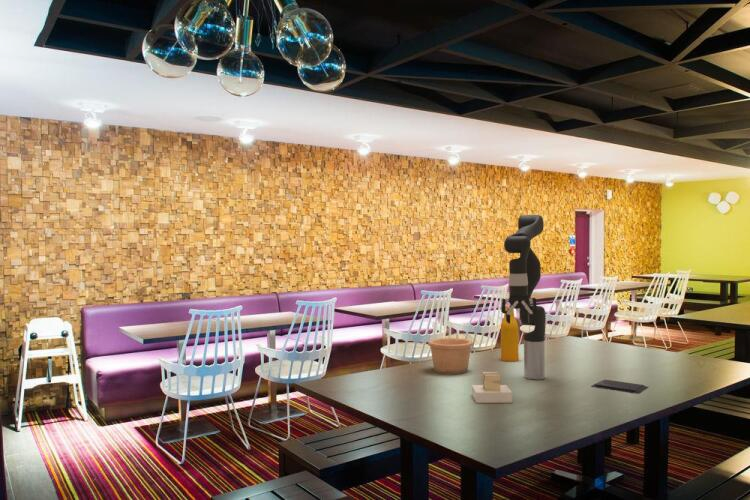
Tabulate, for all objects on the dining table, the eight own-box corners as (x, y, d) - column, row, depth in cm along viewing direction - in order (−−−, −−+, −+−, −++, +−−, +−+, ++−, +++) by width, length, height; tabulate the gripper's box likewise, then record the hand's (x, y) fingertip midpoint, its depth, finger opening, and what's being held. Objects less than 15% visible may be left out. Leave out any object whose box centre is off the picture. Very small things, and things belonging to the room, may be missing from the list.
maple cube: (482, 386, 231) (482, 372, 231) (497, 386, 230) (497, 372, 230) (485, 390, 225) (485, 375, 225) (500, 390, 224) (500, 375, 224)
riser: (471, 394, 234) (471, 385, 234) (506, 394, 233) (505, 384, 233) (476, 402, 222) (476, 392, 222) (512, 402, 221) (512, 392, 221)
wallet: (589, 383, 245) (603, 377, 256) (589, 388, 245) (603, 381, 256) (638, 391, 231) (650, 384, 242) (638, 395, 231) (650, 388, 242)
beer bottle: (497, 359, 306) (496, 305, 306) (511, 357, 310) (510, 304, 310) (508, 362, 298) (507, 307, 297) (522, 360, 302) (521, 306, 301)
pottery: (481, 372, 274) (481, 343, 274) (441, 377, 266) (441, 346, 266) (459, 364, 294) (458, 336, 294) (421, 368, 286) (420, 340, 286)
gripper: (533, 283, 239) (534, 321, 239) (499, 283, 239) (500, 322, 240) (537, 284, 231) (538, 324, 232) (502, 285, 232) (503, 325, 232)
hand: (519, 323), depth 236 cm, fingers open, 8 cm apart
